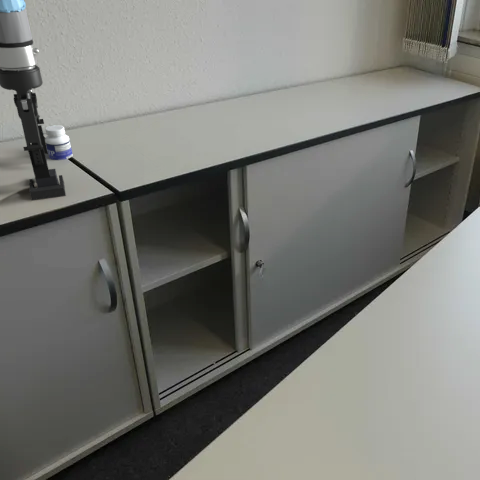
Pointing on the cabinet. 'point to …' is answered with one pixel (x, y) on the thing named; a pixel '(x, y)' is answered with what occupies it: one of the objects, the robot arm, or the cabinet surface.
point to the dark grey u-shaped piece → (47, 190)
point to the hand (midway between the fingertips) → (42, 165)
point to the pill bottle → (57, 143)
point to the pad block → (48, 180)
